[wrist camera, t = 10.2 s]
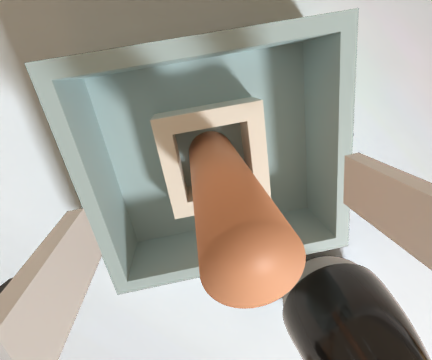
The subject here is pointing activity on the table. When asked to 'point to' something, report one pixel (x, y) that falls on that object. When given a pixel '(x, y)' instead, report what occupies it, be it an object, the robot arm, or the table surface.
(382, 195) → the robot arm
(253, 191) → the peg
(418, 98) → the table surface
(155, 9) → the table surface
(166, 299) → the table surface
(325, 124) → the box
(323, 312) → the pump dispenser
